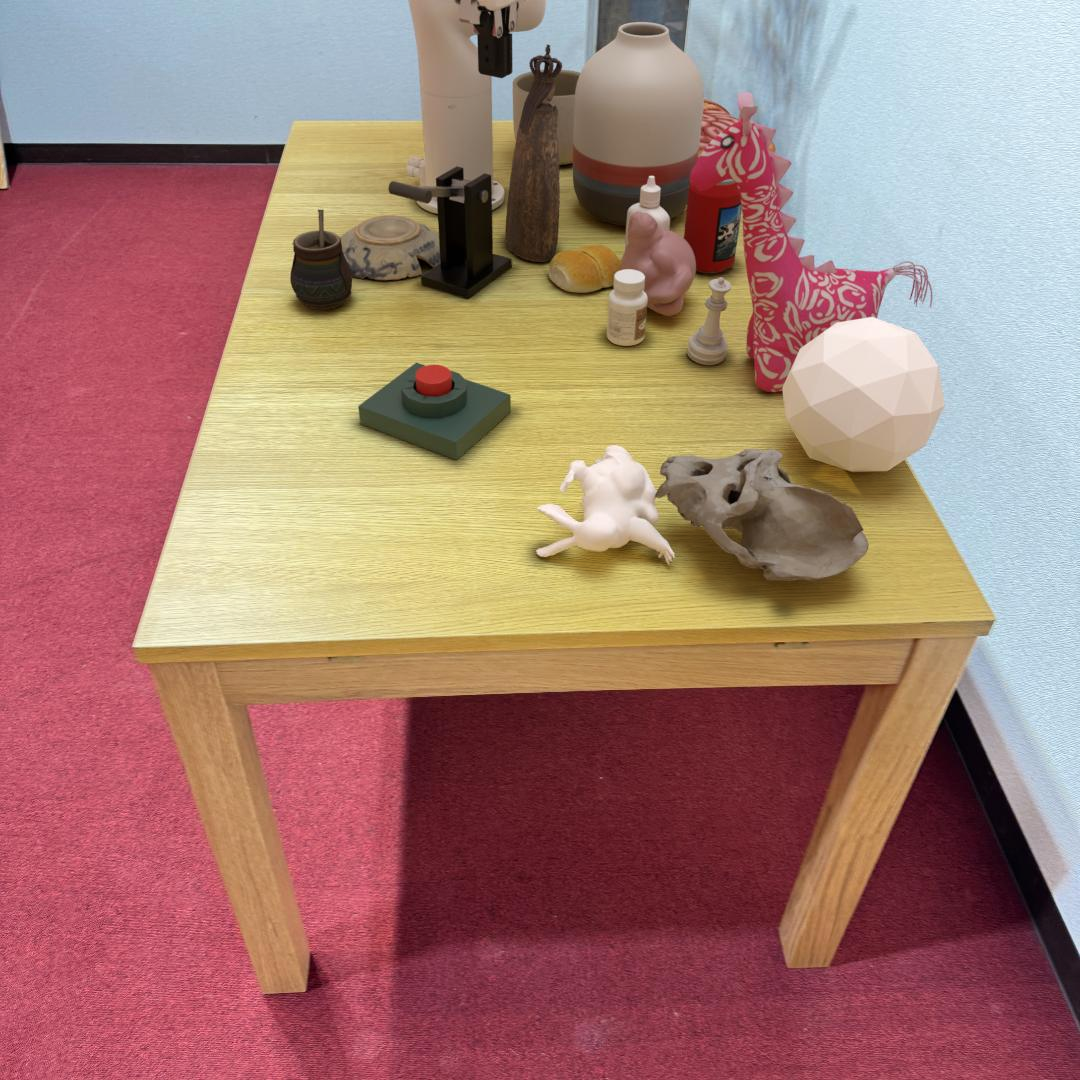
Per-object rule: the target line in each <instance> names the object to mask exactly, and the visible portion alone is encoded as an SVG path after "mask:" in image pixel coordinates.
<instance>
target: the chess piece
mask: <svg viewBox="0 0 1080 1080" xmlns="http://www.w3.org/2000/svg"><path fill="white" fill-rule="evenodd" d="M708 288H709V289H710V292H711V295H710V296H709V297H708V298H706V300H705V302H704V303H705V304H704V305H705V308H706V309H707V310H708V311H707V312H708V313H707V316H706V319H705V321H704V323H703V325H701V326H700V327H699V328H697V331H696V332H694V333H693V334H691V336H690V337H689V339H688V344H687V347H686V354H687V355H688V357H689V358H690V359H691V360H692V361H694V362H695V363H697V364H700V365H704V366H715V365H718V364H720V363H722V362H723V361H725V359H726V356H727V352H728V351H727V349H728V342H727V340H726V338H725V337H724V332H723V329H721V328H720V326H721V325H720V322H721V319H720V318H721V312H722V313H723V312H724V311H726V309H727V308H728V302H727V300H726V299H725V295H726V294H727V293H729V292H730V291H731V289H732V284H731V282H729V281H728V280H726V279H725V278H724V277H722V276H719V277H718V278H714V279H711V280H710V281H709V284H708Z"/></svg>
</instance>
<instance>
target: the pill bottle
mask: <svg viewBox="0 0 1080 1080" xmlns="http://www.w3.org/2000/svg"><path fill="white" fill-rule="evenodd" d="M644 286H645V276H644V274H643V273H642V272H640V271H637V270H632V269H625V270H620V271H618V272H616V273H615V275H614V283H613V289H612V290H611V291H610V293H609V295H608V303H607V319H606V338H607V339H608V341H610V342H611V343H612V344H614V345H617V346H623V347H630V346H635V345H638V344H640V343H642V342H643V341H644V339H645V336H646V322H647V313H648V312H647V311H648V307H647V302H648V297H647V294H646V293H645V292H644V291H643V290H644Z"/></svg>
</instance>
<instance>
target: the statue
mask: <svg viewBox="0 0 1080 1080" xmlns="http://www.w3.org/2000/svg"><path fill="white" fill-rule="evenodd" d="M544 49H545V51H544V52H545V54H544V55H542V54H541V55H540V54H539V55H536V56H533V57H532V58H530V60H529V69H530V72H531V71H532V73H533V75H534V79H533V80H534V81H533V84H532V86H531V89H530V92H529V94H528V96H527V98H526V101H525V103H524V107H523V110H522V115H521V118H520V122H519V127H518V132H517V138H516V140H515V144H514V145H515V146H514V152H513V157H512V163H511V170H510V177H509V185H508V193H507V194H508V195H507V206H506V213H505V232H504V233H505V235H504V236H505V239H504V240H505V241H506V247H507V248H508V250H509V251H510V252H511V253H513V254H514V255H515V256H518V257H520V258H521V259H523V260H527V261H531V262H534V263H545V262H546V263H547V262H548V261H551V260H552V259H553V257H554V256H555V255H556V254H557V252H556V251H557V247H558V241H559V228H560V210H561V209H560V206H561V201H560V197H561V195H560V194H561V191H560V165H559V155H558V153H559V152H558V140H557V130H556V128H557V123H556V122H557V119H558V109H557V106H554V108H553V106H552V105H551V104H550V103H548V102H550V101H551V100H552V98H553V95H554V91H555V80H554V78H555V77H556V76H557V75H558V74H559V73H560V71H561V70H563V63H562V62H561V60H559V59H558V58H557V57H556V58H555V57H552V55H551V45H550V44H546V47H545V48H544ZM541 64H544V66H543V70H544V71H543V72H541V71H540V70H541ZM554 64H556V65H555V68H554ZM553 69H555V70H554V71H553ZM552 71H553V73H552Z"/></svg>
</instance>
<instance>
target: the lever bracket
mask: <svg viewBox="0 0 1080 1080" xmlns="http://www.w3.org/2000/svg"><path fill="white" fill-rule="evenodd" d="M452 179H464V171H463V168H462V167H458V166H456V167H455V168H453V169H451V170H449V171H448V172H446V173H444V174H442V175H441V176H439V177H437V178H436V186H451V182H452ZM464 200H465V204H463V203H460V202H456V201H452V200H449V197H437V210H438V214H437V227H438V236H439V247H440V264H438V265H437V266H435V267H432V268H431V269H429V270H428V271H426V272H425V273H424V274H423V273H422V275H420V281H421V286H424V287H427V288H431V289H434V290H438V291H441V292H445V293H447V294H451V295H453V296H457V297H460V298H464V299H467V300H469V299H470V298H472V297H473V296H474V295H476V294H477V293H479V292H480V291H481V290H483V289H484V288H486V287H487V286H489V285H490V284H491V283H492V282H494V281H495V280H497V279H498V278H499V277H501V276H502V275H503V274H505V273H506V272H507V271H509V270H511V269H512V268H513V259H512V258H511V257H506V256H503V255H500V254H496V253H494V244H493V243H494V241H493V239H494V237H493V235H494V234H493V210H492V185H491V175H489V174H485V173H484V174H483V175H481V176H479V177H478V178H476V179H474V180H473V181H471V182H469V183H468V184H466V185H464Z"/></svg>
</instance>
